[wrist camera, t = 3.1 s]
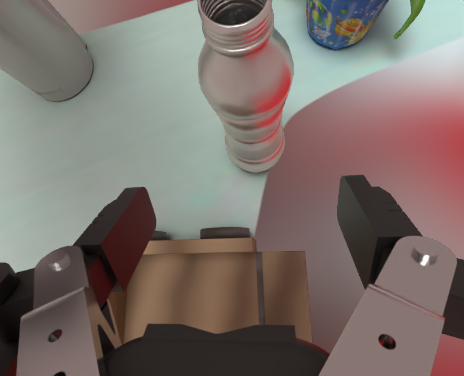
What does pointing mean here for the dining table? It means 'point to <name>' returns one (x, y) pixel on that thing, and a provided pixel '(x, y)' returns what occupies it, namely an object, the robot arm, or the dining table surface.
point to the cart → (213, 286)
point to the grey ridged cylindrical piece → (246, 78)
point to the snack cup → (348, 20)
